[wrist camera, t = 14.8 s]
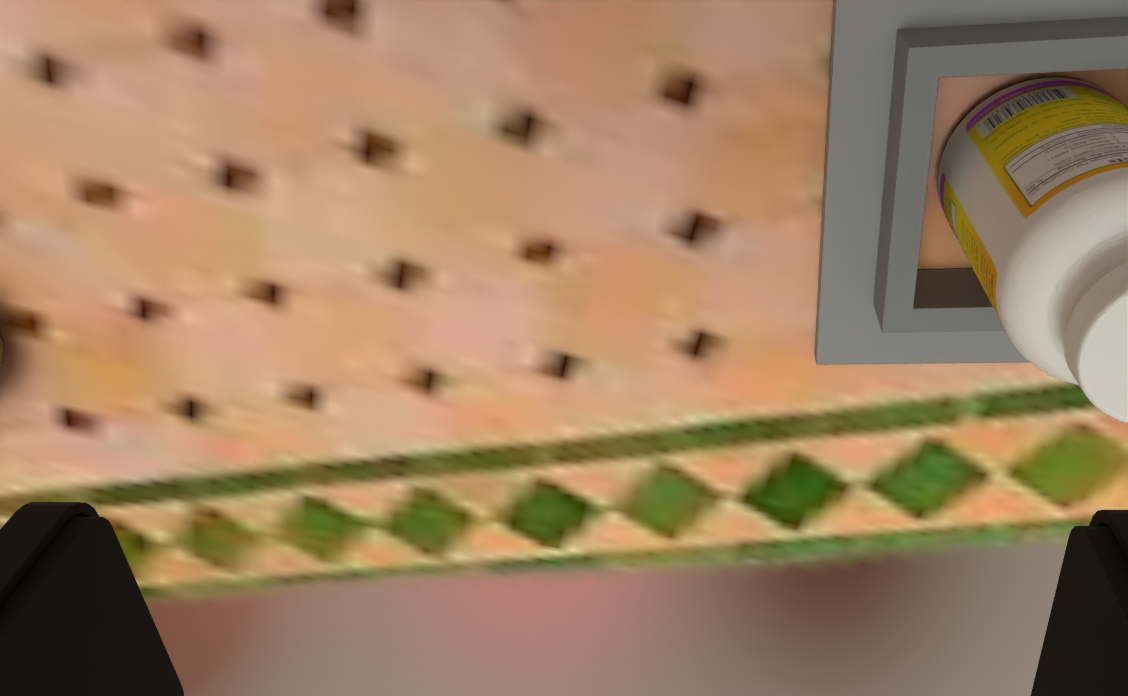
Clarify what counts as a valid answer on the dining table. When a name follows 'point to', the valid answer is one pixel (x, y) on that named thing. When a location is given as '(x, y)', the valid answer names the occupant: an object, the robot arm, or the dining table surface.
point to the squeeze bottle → (1, 350)
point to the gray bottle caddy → (922, 164)
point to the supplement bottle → (1049, 226)
